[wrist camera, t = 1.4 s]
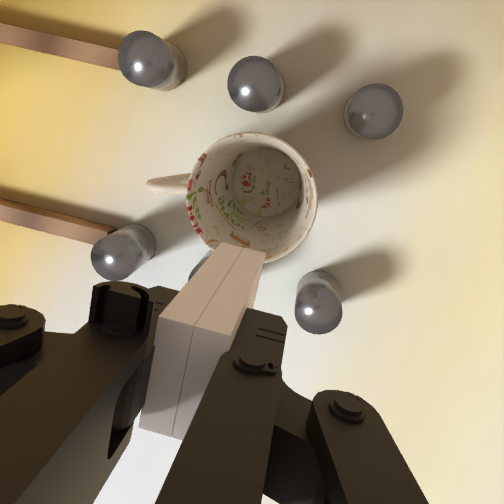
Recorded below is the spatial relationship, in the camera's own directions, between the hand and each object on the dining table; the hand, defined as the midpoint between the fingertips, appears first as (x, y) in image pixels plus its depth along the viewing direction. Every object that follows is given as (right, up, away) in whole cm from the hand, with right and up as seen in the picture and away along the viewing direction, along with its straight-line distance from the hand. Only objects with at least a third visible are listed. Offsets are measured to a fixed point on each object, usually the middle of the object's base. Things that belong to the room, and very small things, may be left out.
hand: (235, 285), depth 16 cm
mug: (0, +7, +24) cm, 25 cm away
